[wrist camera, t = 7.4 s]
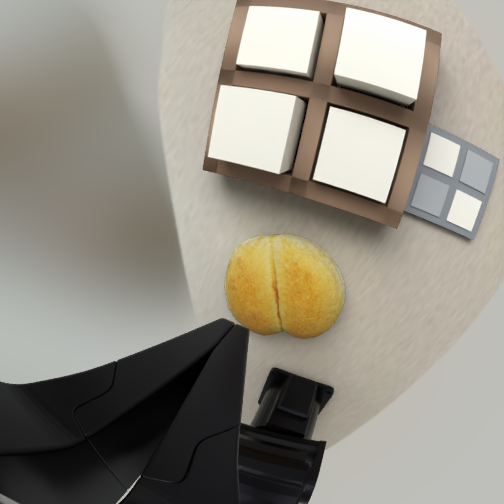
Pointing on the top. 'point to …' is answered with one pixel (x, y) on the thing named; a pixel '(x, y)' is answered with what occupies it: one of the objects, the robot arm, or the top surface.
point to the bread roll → (284, 286)
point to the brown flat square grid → (320, 100)
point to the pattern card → (452, 182)
